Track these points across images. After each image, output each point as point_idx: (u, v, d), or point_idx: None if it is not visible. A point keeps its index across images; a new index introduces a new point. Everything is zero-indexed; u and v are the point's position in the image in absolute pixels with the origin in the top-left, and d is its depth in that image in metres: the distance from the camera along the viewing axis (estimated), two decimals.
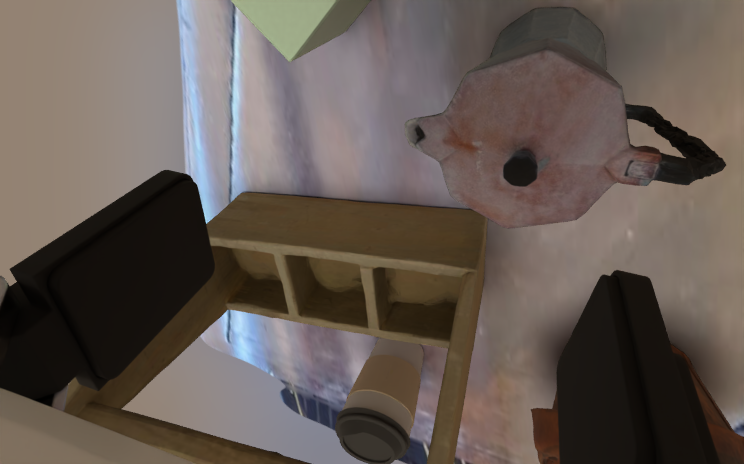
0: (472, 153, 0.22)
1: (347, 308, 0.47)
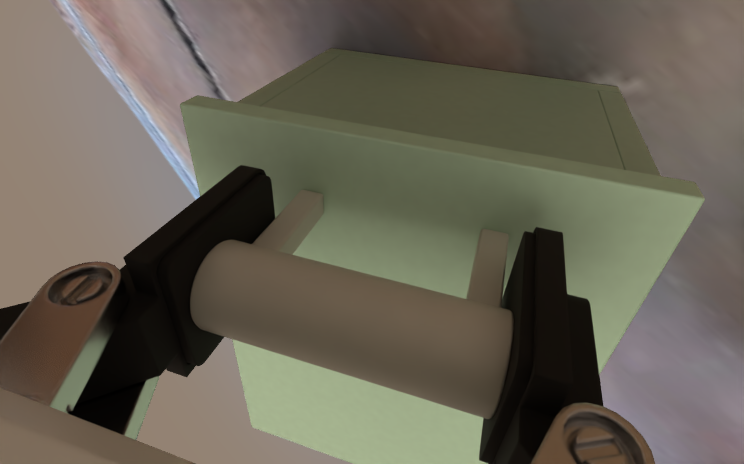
0: None
1: None
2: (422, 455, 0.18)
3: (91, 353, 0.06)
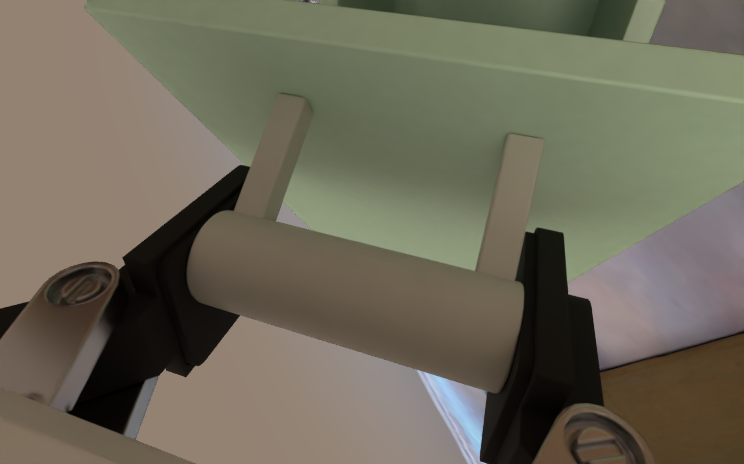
0: None
1: None
2: (467, 259, 0.20)
3: (90, 353, 0.06)
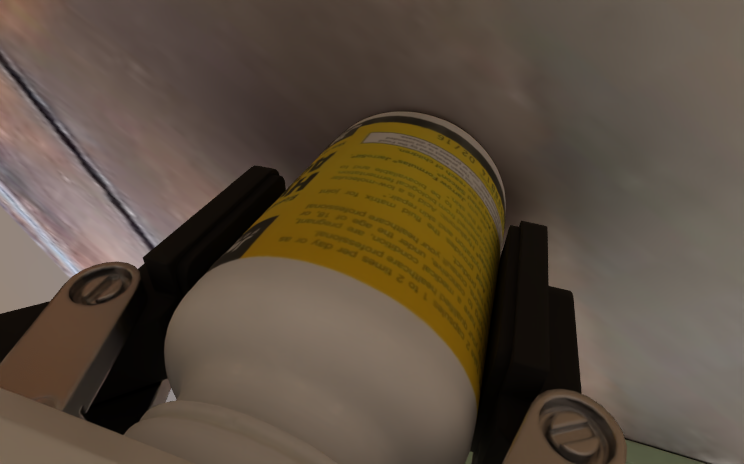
0: None
1: None
2: None
3: (109, 354, 0.06)
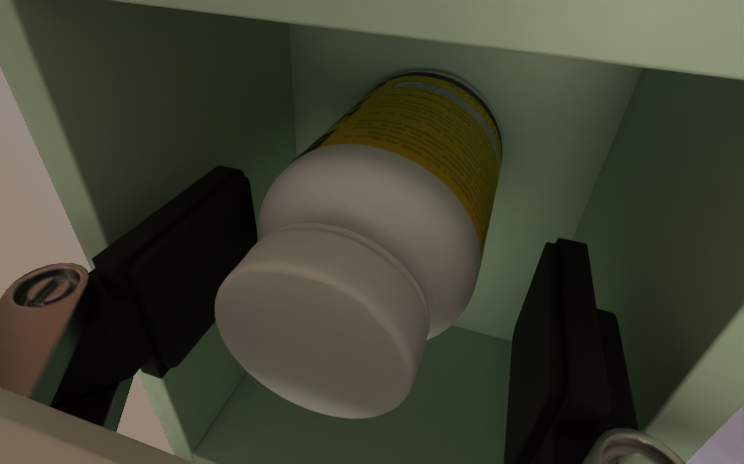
0: None
1: None
2: None
3: (64, 352, 0.06)
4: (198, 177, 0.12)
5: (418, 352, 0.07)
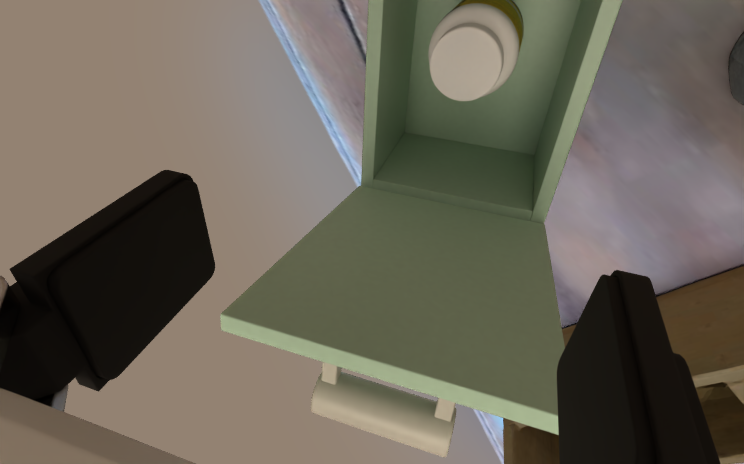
0: None
1: (722, 430, 0.36)
2: None
3: None
4: (395, 31, 0.27)
5: (502, 61, 0.23)
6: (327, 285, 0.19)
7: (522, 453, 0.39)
